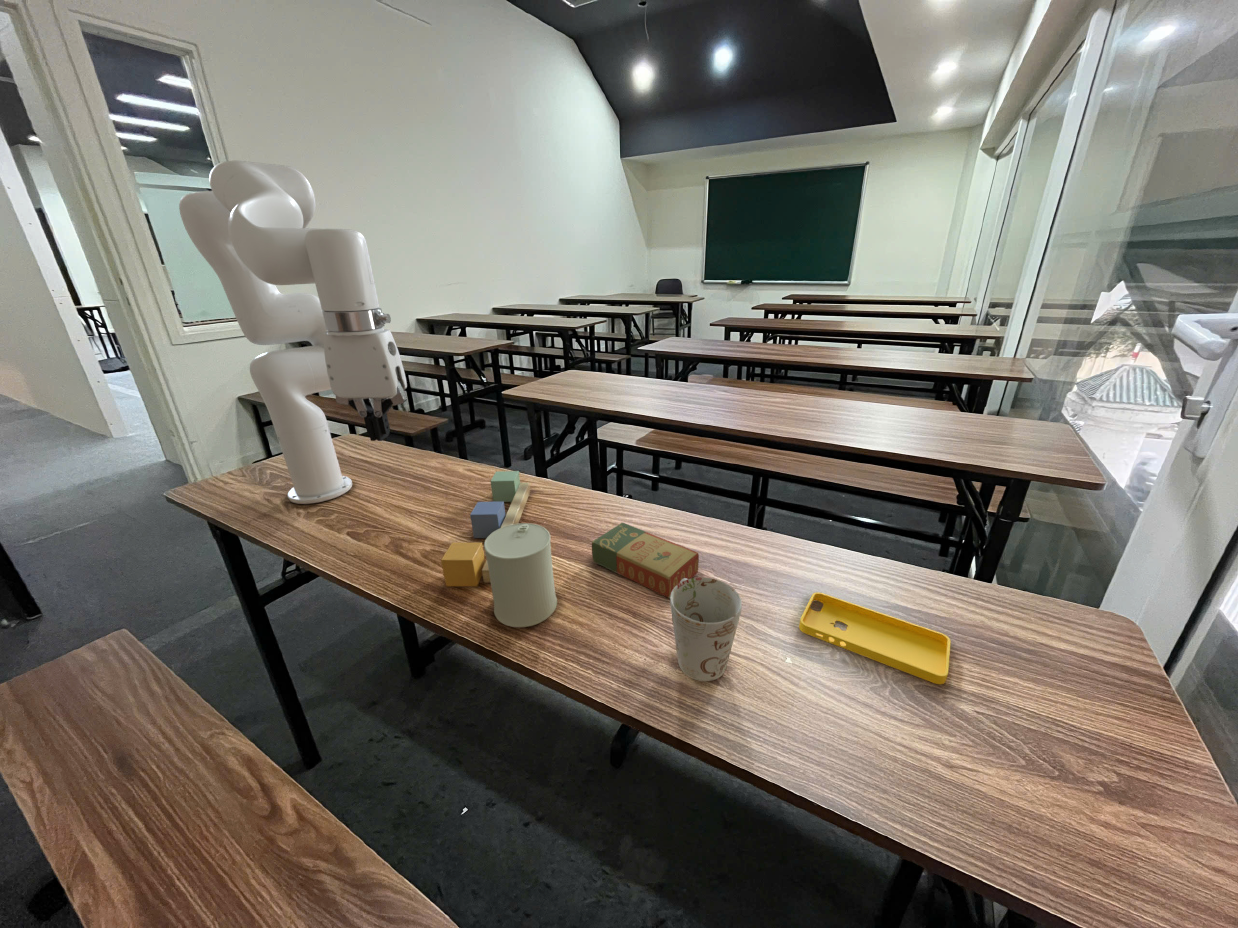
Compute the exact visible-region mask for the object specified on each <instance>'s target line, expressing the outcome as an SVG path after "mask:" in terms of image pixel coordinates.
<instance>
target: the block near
mask: <svg viewBox="0 0 1238 928" xmlns="http://www.w3.org/2000/svg"><path fill="white" fill-rule="evenodd" d="M485 562H486V559H485V551H484V545H483V542H451V544H450V545H449V546H448V548H447V549H446V551H445V553H444V555H443V556H442V557H441V559H440V563H441V569H442V574H443V578H444V582H445V586H446V587H478V586H479V584H480V582H481V579H482V578H483V575H482V569H483V567H484V564H485Z"/></svg>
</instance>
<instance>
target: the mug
mask: <svg viewBox="0 0 1238 928" xmlns="http://www.w3.org/2000/svg"><path fill="white" fill-rule="evenodd" d="M669 605H670V613H671V620H672V625H673V626H672V627H673V635H674V642H675V650H676V656H677V663H678V666H679V668H680V670H681V671H682V673H683V674H684V675H685V676H687V677H688V678H691V679H692V680H695V681H699V682H712V681H715V680H717V679H720V678H721V677H722V676H723V675H724V673H725V672H726V670H727V667H728V662H729V659H730V657H731V652H732V647H733V644H734V639H735V637H736V633H737V629H738V625H739V621H740V617H741V614H742V610H743V609H742V607H743V602H742V598H741V596H740V594H739V593H738V592H737V590H736V588H735V589H734V588H733V587H732V586H731V585H730V584H728V583H727V582H724V581H721V580H719V579H715V578H711V577H693V578H692V579H686V578H684V579H682V580H681V581H680V583H679V584H678V585H676V586H675V587H674V589H673V590H672V592H671V596H670V598H669Z"/></svg>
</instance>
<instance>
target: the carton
mask: <svg viewBox="0 0 1238 928" xmlns="http://www.w3.org/2000/svg"><path fill="white" fill-rule="evenodd" d="M591 556H592V562H593V563H595V564H597V565H599V566H601V567H603V568H606V569H607V570H610V571H611V572H614V573H615V574H618V575H620V576H622V577H624V578H627V579H629V580H631V581H633V582H634V583H637V584H639V585H641V586H643V587H645V588H646V589H647V588H648V589H649V590H652V591H654V592H656V593H657V594H660V595H661V596H663V597H665V598H668V599H670V596H671V592H672V590H673V589H674V587H675V586H676V585H678V584H679V583H680V581H681V580H682V579H684V578H686V579H692V578H695V576H696V575H697V574H699V563H700V562H699V561H700V560H699V559H700V556H699V552H698V551H696V550H693V549H690V548H687V547H685V546H684V545H683V546H682V545H680V544H678V543H675V542H673V541H671V540H668V539H665V538H663V537H660V536H658V535H656V534H653V533H650V532H647V531H646V530H642V529H640V528H638V527H635V526H633V525H631V524H628V523H625V522H620V523H619V524H618V525H616V526H615V527H613V528H611V529H610V530H608V531H606V532H605V533H604V534H602V535H601V536H599V537H597V538H595V539H594V540H592V541H591Z"/></svg>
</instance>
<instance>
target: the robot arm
mask: <svg viewBox="0 0 1238 928" xmlns="http://www.w3.org/2000/svg"><path fill="white" fill-rule="evenodd" d="M208 180H209V186H210V188H211V190H202V191H201V190H200V191H194V192H190V193H187V194H185V195H183V196H182V197H181V198H180V200H179V203H178V210H179V214H180V218H181V221H182V224H183V227H184V229H185V231H186V233H187V235H188V237H189V239H190V240H191V242H192V244H193V245H194V246H195V248H196V249H197V250H198V252H199V253H200V254H201V256H202V257H203V258H204V260H205V261H206V262H207V263H208V265H209V266H210V267H211V269H212V270H213V271H214V273H215V274H216V275H217V277H218V279H219V281H220V283H221V285H222V288H223V291H224V293H225V295H226V297H227V300H228V302H229V306H230V307H231V310H232V312H233V314H234V317H235V319H236V321H237V324H238V326H239V328H240V330H241V332H242V334H243V335H244V337H245V338H246V339H247V340H248V341H249V342H250V343H252V344H254V345H256V346H257V345H258V346H272V345H282V344H290V343H298V342H304V341H305V342H309V343H310V344H311V345H309V346H303V347H291V348H285V349H278V350H272V351H267V352H264V353H261V354H259V355H257V356H255V357H254V358H253V359H251V361H250V364H249V373H250V377H251V380H252V381H253V383H254V385H255V387H256V389H257V391H258V392H259V395H260V397H261V398H262V400H263V402H264V405H265V407H266V409H267V411H268V414H269V417H270V420H271V423H272V426H273V428H274V431H275V434H276V439H277V440H278V443H279V446H280V450H281V453H282V456H283V459H284V462H285V464H286V468H287V470H288V475H289V477H290V480H291V483H292V486H293V487H292V488H291V489H290V490H289V491H288V493H287V498H288V500H289V501H290V502H291V503H293V504H297V505H298V504H299V505H310V504H317V503H323V502H326V501H329V500H332V499H336V498H339V497H341V496H342V495H344V494H346V493H347V492H349V491H350V490H351V489H352V487H353V481H352V479H351V478H350V477H349V476H347V475H343V474H342V471H341V468H340V464H339V460H338V456H337V453H336V449H335V446H334V442H333V439H332V434H331V431H330V428H329V424H328V421H327V417H326V415H325V412H324V411H323V410H322V409H321V408H320V407H319V406H318V405H316V404H315V403H313V402H312V401H310V400H309V399H307V396H309V395H313V394H316V393H321V392H326V391H331V392H332V393H333V395H335V402H336V403H337V404H339V405H344V406H348V407H349V406H350V407H351V408H352V409H354V411H356V412H357V413H358V415H359V416H360V417H361V418H363V420H364V425H365V430H366V433H367V434H368V435H369V439H370V441H371V442H376V441H377V442H383V441H384V439H386V438H387V437H388V436H389V435H390V432H391V427H390V422H389V417H388V413H389V411H390V409H392V407H394V406H397V405H402V404H404V403H405V402H406V401H408V396H407V395H406V393H405V390H406V389H407V388H408V383H407V382H408V381H407V377H406V373H405V368H404V365H403V362H402V358H401V355H400V351H399V349H398V346H397V344H396V341H395V338H394V336H393V334H392V332H391V329H388V328H385V325H386V324H391V322H392V321H391V320H392V319H391V315H390V314H389V313H384V312H383V311H382V308H380V302H379V297H378V292H377V287H376V282H375V277H374V273H373V267H372V262H371V257H370V253H369V248H368V243H367V240H366V238H365V236H364V235H363V234H362V233H361V232H359V230H355V229H352V228H351V229H350V228H348V229H347V228H309V227H308V225H310V222H311V221H312V219H313V218H314V215H315V213H316V196H315V192H314V189H313V187H312V185H311V183H310V182H309V180H308V179H307V177H306V176H305V175H304V174H303V173H302V172H301V171H299V170H298V169H296V168H295V167H293V166H289V165H284V164H275V163H264V162H255V161H246V160H225V161H222V162H219V163H217V164H216V165H215V166H214V167H212V168H211V170H210V173H209V179H208ZM313 284H315V288H316V293H317V295H315V294H312V293H308V292H294V293H292V292H291V293H282V292H280V290H279V289H278V287H277V286H294V285H313Z"/></svg>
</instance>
